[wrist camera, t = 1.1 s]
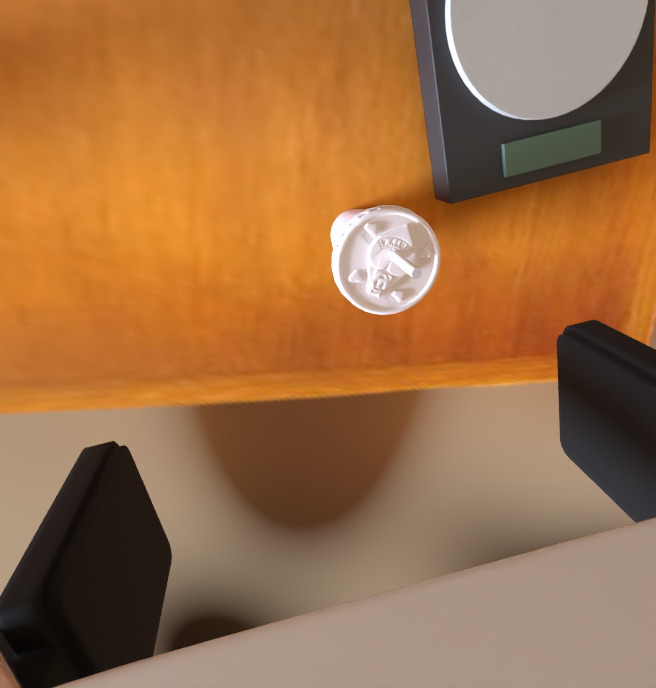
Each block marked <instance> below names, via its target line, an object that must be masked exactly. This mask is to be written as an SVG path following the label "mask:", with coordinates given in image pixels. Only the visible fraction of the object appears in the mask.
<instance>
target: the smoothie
mask: <svg viewBox="0 0 656 688" xmlns="http://www.w3.org/2000/svg"><path fill="white" fill-rule="evenodd" d="M331 240H332V245H333V253H332V270H333V275H334V279H335V282H336V284H337V286H338V287H339V289H340V291H341V293H342V294H343V295H344V296H345V297H346V298H347V299H348V300H349V301H350V302H351V303H352V304H354V305H355V306H356V307H358V308H360V309H362V310H364V311H366V312H369V313H373V314H382V315H386V314H394V313H398V312H401V311H404V310H406V309H408V308H410V307H412V306H413V305H415V304H416V303H418V302H419V301H420V300H421V299H422V298H423V297H424V296H425V295H426V294H427V293H428V292H429V290H430V289H431V287H432V285H433V284H434V282H435V280H436V277H437V274H438V271H439V267H440V247H439V243H438V240H437V237H436V235H435V233H434V231H433V229H432V228H431V227H430V225H429V224H428V223H427V222H426V221H425V220H424V219H423V218H422V217H420V216H419V215H417V214H416V213H414V212H412V211H411V210H409V209H407V208H403V207H400V206H397V205H380V206H377V207H373V208H369V209H350V210H347V211H345V212H343V213H342V214H340V215H339V216H338V217H337V219H336V220H335V222H334V223H333V226H332V229H331Z"/></svg>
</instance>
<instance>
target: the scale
mask: <svg viewBox="0 0 656 688" xmlns="http://www.w3.org/2000/svg"><path fill="white" fill-rule="evenodd" d="M410 6H411V14H412V22H413V29H414V37H415V45H416V52H417V60H418V67H419V75H420V83H421V90H422V98H423V106H424V113H425V121H426V128H427V136H428V144H429V151H430V159H431V167H432V174H433V182H434V189H435V197H436V199H437V200H440V201H443V202H446V203H449V204H453V203H457V202H460V201H464V200H468V199H472V198H476V197H480V196H484V195H487V194H491V193H495V192H499V191H503V190H507V189H511V188H515V187H518V186H522V185H526V184H530V183H534V182H538V181H542V180H545V179H549V178H553V177H557V176H561V175H565V174H569V173H573V172H576V171H580V170H584V169H588V168H592V167H596V166H600V165H603V164H607V163H611V162H615V161H619V160H623V159H627V158H631V157H634V156H638V155H642V154H646V153H649V151H650V125H651V98H652V71H653V45H654V18H655V0H410Z"/></svg>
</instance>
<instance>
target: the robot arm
mask: <svg viewBox="0 0 656 688" xmlns="http://www.w3.org/2000/svg"><path fill="white" fill-rule="evenodd" d="M557 359H558V390H559V420H560V441H561V445H562V448H563V450H564V452H565V453H566V455H567V456H568V457H569V458H570V459H571V460H572V461H573V462H574V463H575V464H576V465H577V466H578V467H579V468H580V469H581V470H582V471H583V472H584V473H585V474H586V475H587V476H588V477H589V478H590V479H592V480H593V481H594V482H595V483H596V484H597V485H598V486H599V487H600V488H601V489H602V490H603V491H604V492H605V493H606V494H607V495H608V496H609V497H610V498H611V499H612V500H613V501H614V502H615V503H616V504H617V505H618V506H619V507H620V508H621V509H622V510H623V511H624V512H625V513H626V514H628V516H629V517H630V518H632V519H633V520H634V521H635V522H636V523H633V524H629V525H626V526H622V527H618V528H615V529H611V530H607V531H604V532H600V533H596V534H592V535H589V536H585V537H582V538H578V539H575V540H571V541H567V542H563V543H560V544H557V545H553V546H549V547H545V548H542V549H538V550H535V551H531V552H527V553H524V554H520V555H516V556H513V557H509V558H506V559H502V560H498V561H495V562H491V563H488V564H484V565H480V566H477V567H473V568H470V569H466V570H462V571H459V572H455V573H451V574H448V575H444V576H441V577H437V578H433V579H430V580H426V581H423V582H419V583H415V584H412V585H408V586H404V587H401V588H397V589H394V590H390V591H387V592H383V593H379V594H375V595H372V596H368V597H365V598H361V599H357V600H354V601H350V602H346V603H343V604H339V605H336V606H332V607H328V608H325V609H321V610H318V611H314V612H310V613H307V614H303V615H300V616H296V617H292V618H288V619H285V620H282V621H278V622H275V623H271V624H268V625H264V626H260V627H257V628H253V629H250V630H246V631H242V632H239V633H236V634H232V635H228V636H225V637H221V638H218V639H214V640H211V641H207V642H204V643H200V644H196V645H193V646H189V647H186V648H182V649H179V650H175V651H172V652H168V653H164V654H161V655H158V656H154V657H153V653H154V648H155V643H156V638H157V633H158V627H159V622H160V617H161V612H162V607H163V602H164V597H165V591H166V586H167V581H168V576H169V571H170V566H171V559H172V555H171V548H170V544H169V541H168V539H167V537H166V534H165V532H164V530H163V528H162V525H161V523H160V520H159V518H158V516H157V513H156V511H155V509H154V506H153V504H152V502H151V499H150V497H149V495H148V493H147V490H146V488H145V485H144V483H143V481H142V479H141V476H140V474H139V472H138V469H137V467H136V464H135V462H134V460H133V457H132V455H131V453H130V451H129V449H128V448H127V447H126V446H125V445H124V446H119V445H118V444H117V443H116V442H114V441H112V442H107V443H103V444H99V445H95V446H91V447H87V448H85V449H83V451H82V452H81V454H80V456H79V457H78V459H77V461H76V463H75V464H74V466H73V468H72V470H71V471H70V473H69V475H68V477H67V479H66V481H65V482H64V484H63V486H62V488H61V489H60V491H59V493H58V495H57V496H56V498H55V500H54V502H53V504H52V505H51V507H50V509H49V511H48V512H47V514H46V516H45V518H44V519H43V521H42V523H41V525H40V527H39V529H38V530H37V532H36V534H35V535H34V537H33V539H32V541H31V543H30V544H29V546H28V548H27V550H26V552H25V553H24V555H23V557H22V559H21V561H20V562H19V564H18V566H17V568H16V569H15V571H14V573H13V575H12V576H11V578H10V580H9V582H8V584H7V585H6V587H5V589H4V591H3V593H2V594H1V596H0V688H656V350H655V349H653V348H651V347H649V346H647V345H645V344H643V343H641V342H639V341H637V340H635V339H633V338H631V337H629V336H627V335H625V334H623V333H621V332H619V331H617V330H615V329H613V328H611V327H609V326H607V325H605V324H603V323H601V322H599V321H597V320H590V321H586V322H582V323H578V324H574V325H570V326H567V327H566V328H565V329H564V332H563V334H562V335H559V337H558V339H557Z"/></svg>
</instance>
